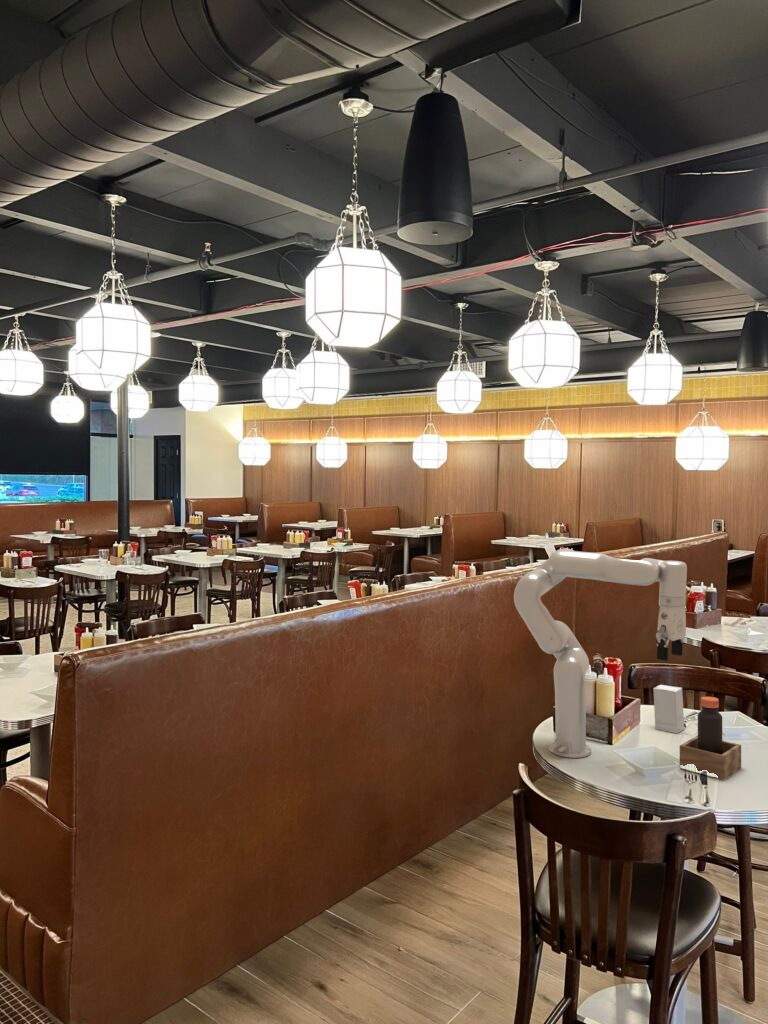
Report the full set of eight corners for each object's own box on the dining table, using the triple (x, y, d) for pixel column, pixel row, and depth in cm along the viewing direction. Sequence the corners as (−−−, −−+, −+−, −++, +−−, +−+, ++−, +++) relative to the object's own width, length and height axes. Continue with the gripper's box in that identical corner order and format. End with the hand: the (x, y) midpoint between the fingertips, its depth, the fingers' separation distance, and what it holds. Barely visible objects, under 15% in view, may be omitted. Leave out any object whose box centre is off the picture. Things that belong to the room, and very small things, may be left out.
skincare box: (684, 730, 260) (684, 687, 259) (676, 734, 255) (676, 691, 255) (661, 724, 266) (660, 683, 265) (653, 728, 262) (653, 686, 261)
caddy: (723, 780, 215) (723, 756, 215) (679, 768, 225) (679, 745, 224) (741, 768, 224) (741, 744, 224) (698, 757, 234) (697, 735, 234)
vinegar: (712, 759, 229) (712, 694, 228) (727, 767, 222) (727, 700, 222) (693, 761, 227) (692, 696, 227) (707, 769, 221) (707, 702, 220)
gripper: (671, 606, 218) (668, 664, 219) (696, 600, 230) (693, 655, 231) (646, 602, 223) (644, 659, 224) (672, 597, 236) (670, 650, 236)
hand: (669, 657), depth 228 cm, fingers open, 9 cm apart
